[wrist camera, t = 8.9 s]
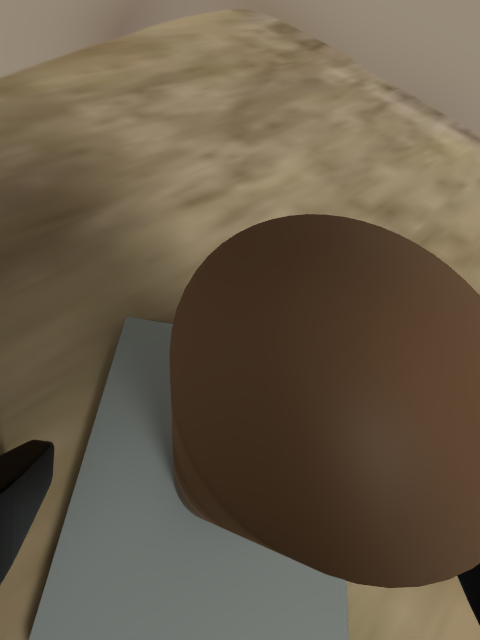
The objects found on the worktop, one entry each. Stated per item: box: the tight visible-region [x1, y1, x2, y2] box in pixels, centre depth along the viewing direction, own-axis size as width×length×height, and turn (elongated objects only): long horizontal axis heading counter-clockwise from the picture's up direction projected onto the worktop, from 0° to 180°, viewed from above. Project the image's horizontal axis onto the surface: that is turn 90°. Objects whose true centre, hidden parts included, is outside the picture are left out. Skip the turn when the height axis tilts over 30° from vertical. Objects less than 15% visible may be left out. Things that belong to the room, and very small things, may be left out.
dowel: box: [169, 214, 480, 588], centre depth 10 cm, size 4×4×14 cm
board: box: [29, 316, 349, 640], centre depth 16 cm, size 14×12×1 cm
